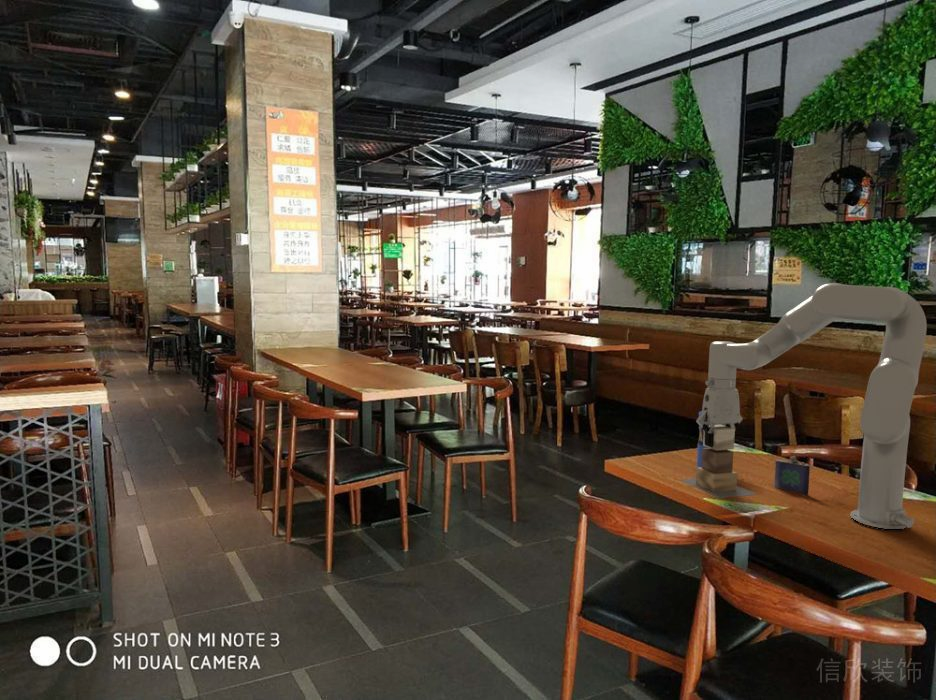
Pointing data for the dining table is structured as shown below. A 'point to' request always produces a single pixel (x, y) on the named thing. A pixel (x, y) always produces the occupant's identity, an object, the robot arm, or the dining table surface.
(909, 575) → the dining table surface
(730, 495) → the slate board
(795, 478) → the flask
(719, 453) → the walnut cube
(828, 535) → the dining table surface
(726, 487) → the base block
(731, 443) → the birch cube
